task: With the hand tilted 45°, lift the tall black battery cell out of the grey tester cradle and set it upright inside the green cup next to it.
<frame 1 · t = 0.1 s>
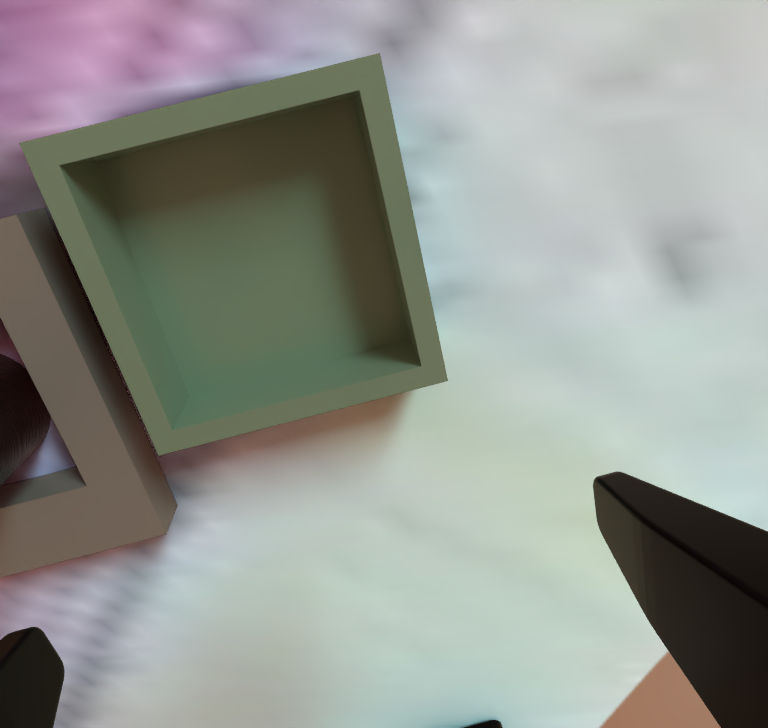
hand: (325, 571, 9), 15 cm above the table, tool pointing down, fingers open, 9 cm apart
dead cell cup: (266, 255, 22), on the table
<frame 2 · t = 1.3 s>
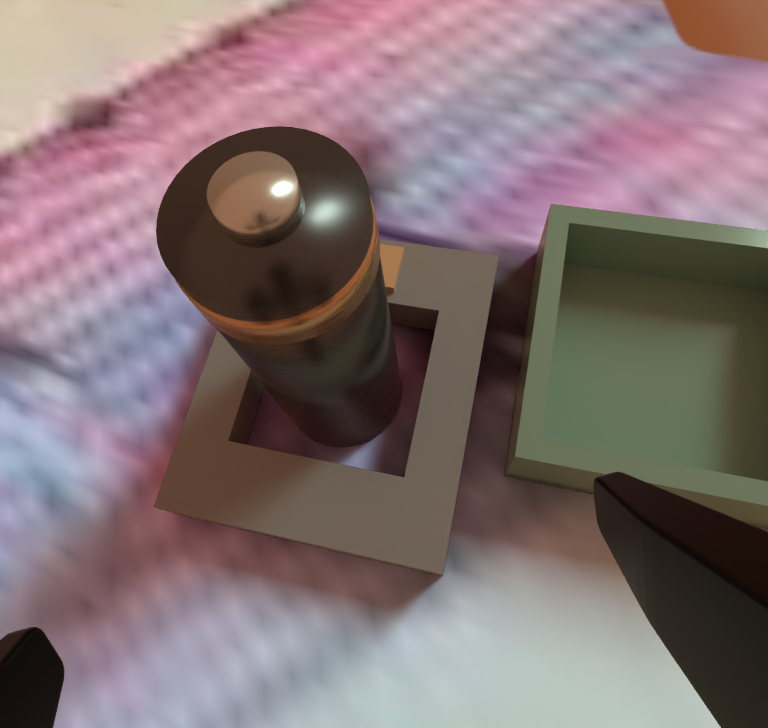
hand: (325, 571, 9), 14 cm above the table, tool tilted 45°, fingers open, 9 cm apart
tester cradle: (344, 390, 25), on the table
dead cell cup: (650, 377, 24), on the table
battery cell: (313, 322, 19), in the tester cradle
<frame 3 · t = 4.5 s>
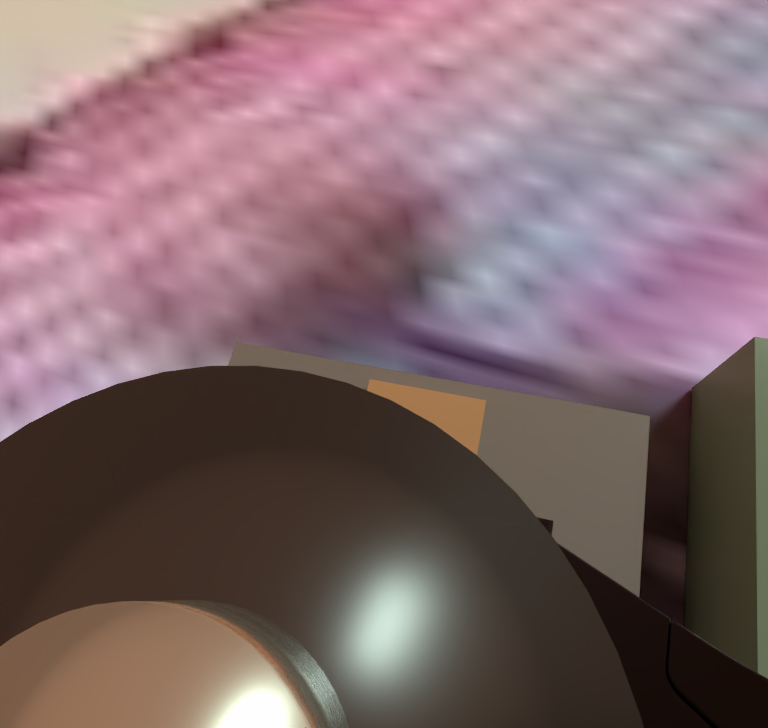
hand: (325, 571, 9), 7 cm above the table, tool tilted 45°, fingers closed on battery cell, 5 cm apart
tester cradle: (383, 638, 15), on the table
battery cell: (343, 669, 8), in the tester cradle, touching gripper
when the fingers open (9 cm above the table, at t = 9.0 s): battery cell drops 1 cm, resting on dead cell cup.
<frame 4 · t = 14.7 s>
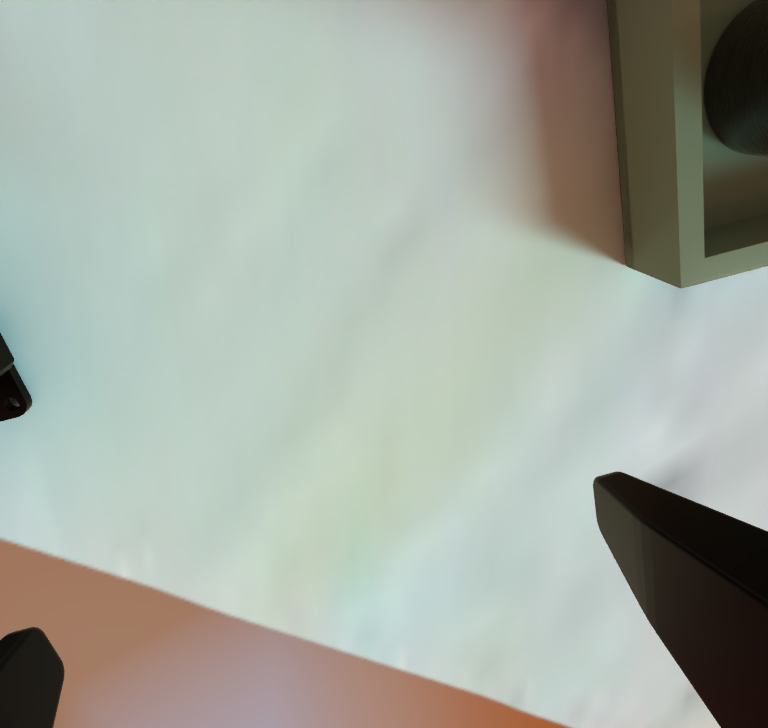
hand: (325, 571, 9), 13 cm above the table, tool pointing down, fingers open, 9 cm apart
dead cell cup: (763, 78, 20), on the table
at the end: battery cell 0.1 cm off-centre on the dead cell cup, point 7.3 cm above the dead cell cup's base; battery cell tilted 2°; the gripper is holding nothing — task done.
